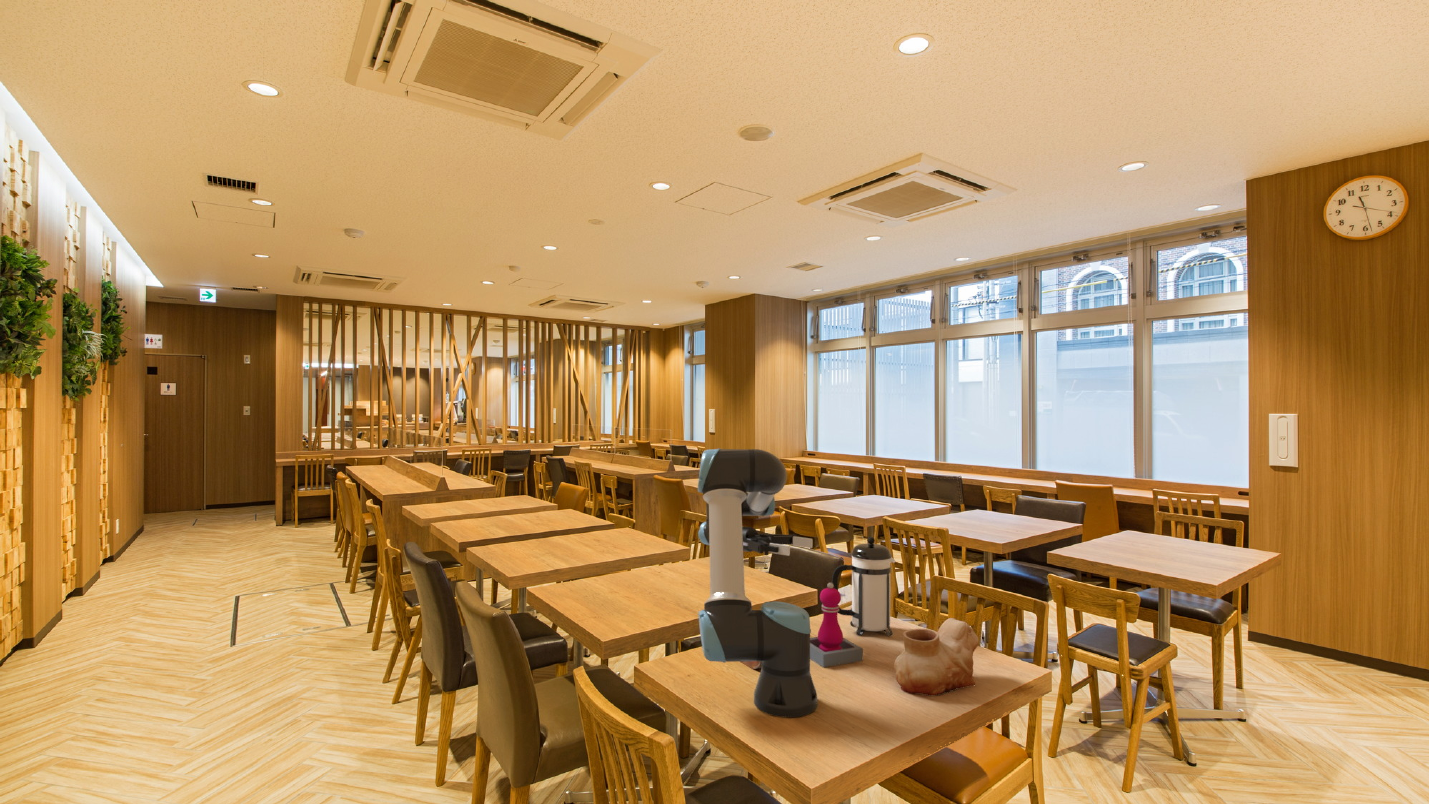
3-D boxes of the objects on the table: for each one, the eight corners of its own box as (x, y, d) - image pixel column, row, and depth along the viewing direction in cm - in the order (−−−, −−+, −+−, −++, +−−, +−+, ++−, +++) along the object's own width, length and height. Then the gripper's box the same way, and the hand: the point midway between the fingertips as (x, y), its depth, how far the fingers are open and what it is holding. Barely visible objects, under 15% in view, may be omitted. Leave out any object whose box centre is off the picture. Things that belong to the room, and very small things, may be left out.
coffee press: (863, 619, 222) (863, 530, 222) (904, 631, 210) (904, 537, 210) (830, 630, 211) (830, 536, 211) (871, 643, 198) (871, 544, 199)
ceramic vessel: (994, 682, 171) (994, 624, 171) (922, 703, 158) (922, 641, 158) (951, 664, 183) (951, 610, 183) (881, 682, 170) (881, 624, 170)
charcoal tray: (823, 667, 180) (823, 654, 180) (799, 651, 192) (799, 639, 192) (862, 660, 185) (862, 648, 185) (836, 645, 197) (836, 633, 197)
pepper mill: (841, 648, 192) (841, 579, 192) (844, 657, 184) (844, 586, 185) (816, 647, 192) (817, 579, 192) (818, 656, 185) (818, 585, 185)
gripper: (763, 544, 217) (820, 552, 204) (718, 557, 197) (778, 567, 185) (763, 521, 217) (820, 528, 205) (718, 532, 197) (779, 540, 185)
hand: (801, 547), depth 195 cm, fingers open, 13 cm apart
